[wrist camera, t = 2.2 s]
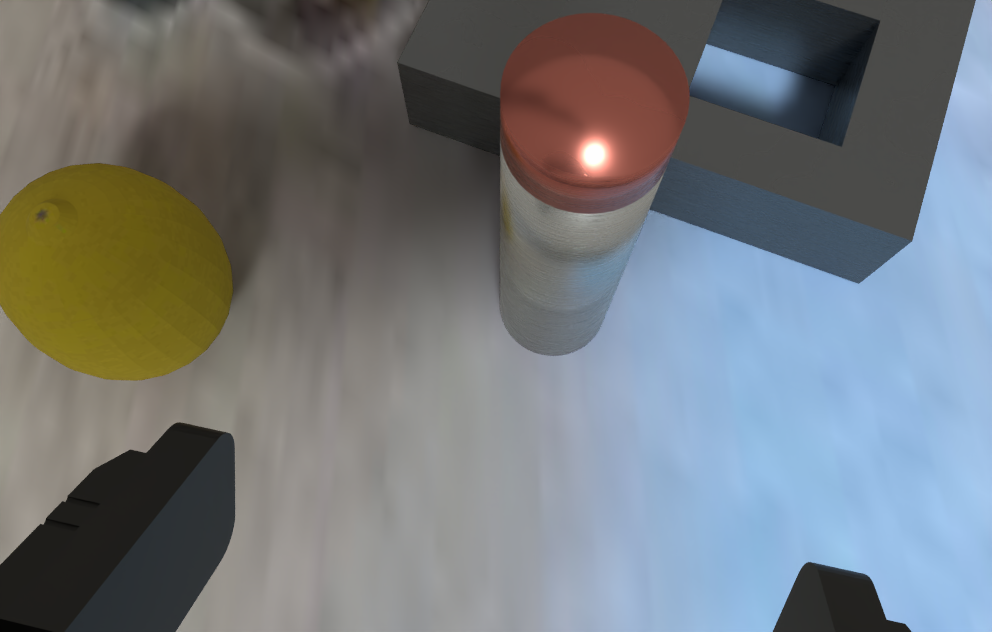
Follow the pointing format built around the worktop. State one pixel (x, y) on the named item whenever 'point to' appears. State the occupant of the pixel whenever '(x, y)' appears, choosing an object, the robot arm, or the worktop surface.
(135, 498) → the robot arm
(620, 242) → the pin
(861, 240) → the grey block with hole
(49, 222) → the lemon
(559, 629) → the worktop surface
